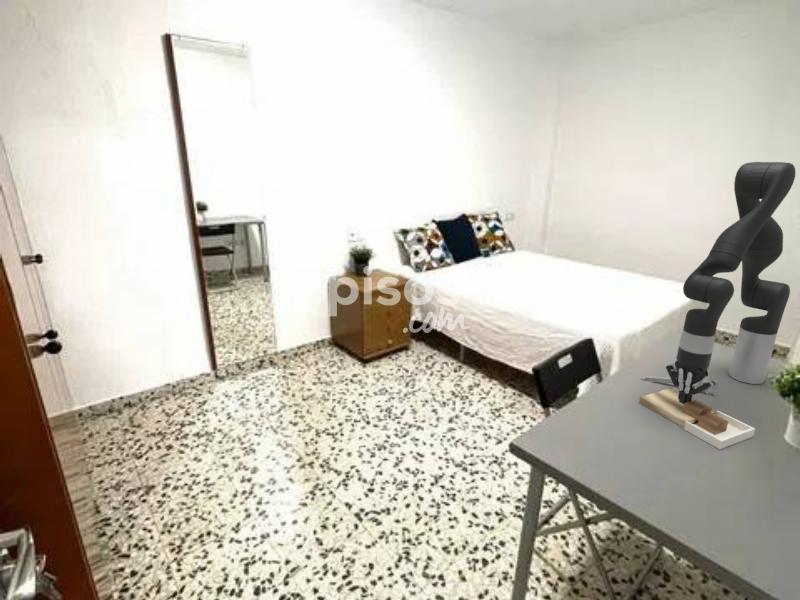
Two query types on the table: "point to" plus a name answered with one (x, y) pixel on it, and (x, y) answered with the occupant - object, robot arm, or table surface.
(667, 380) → the caliper
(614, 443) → the table surface
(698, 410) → the brown square block
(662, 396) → the beige square panel
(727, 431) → the tray
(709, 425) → the tile front
